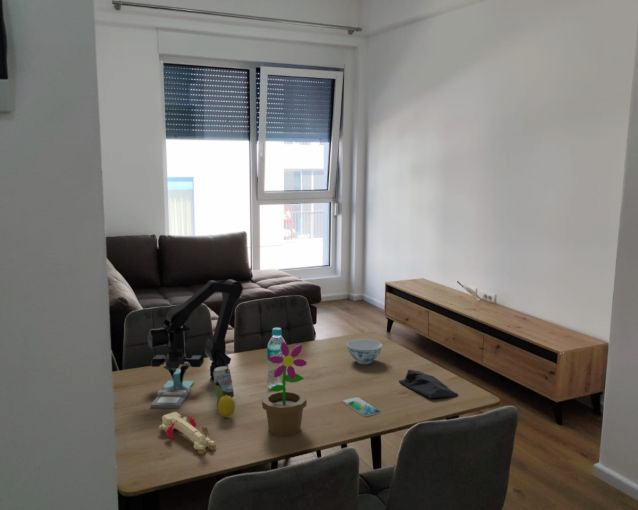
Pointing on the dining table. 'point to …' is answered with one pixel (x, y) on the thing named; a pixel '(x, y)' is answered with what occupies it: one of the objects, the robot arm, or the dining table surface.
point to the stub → (178, 381)
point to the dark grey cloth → (426, 385)
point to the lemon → (226, 406)
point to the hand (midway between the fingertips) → (178, 382)
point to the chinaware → (364, 350)
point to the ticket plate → (170, 397)
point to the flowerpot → (285, 396)
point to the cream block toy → (187, 431)
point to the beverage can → (223, 382)
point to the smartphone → (361, 406)
